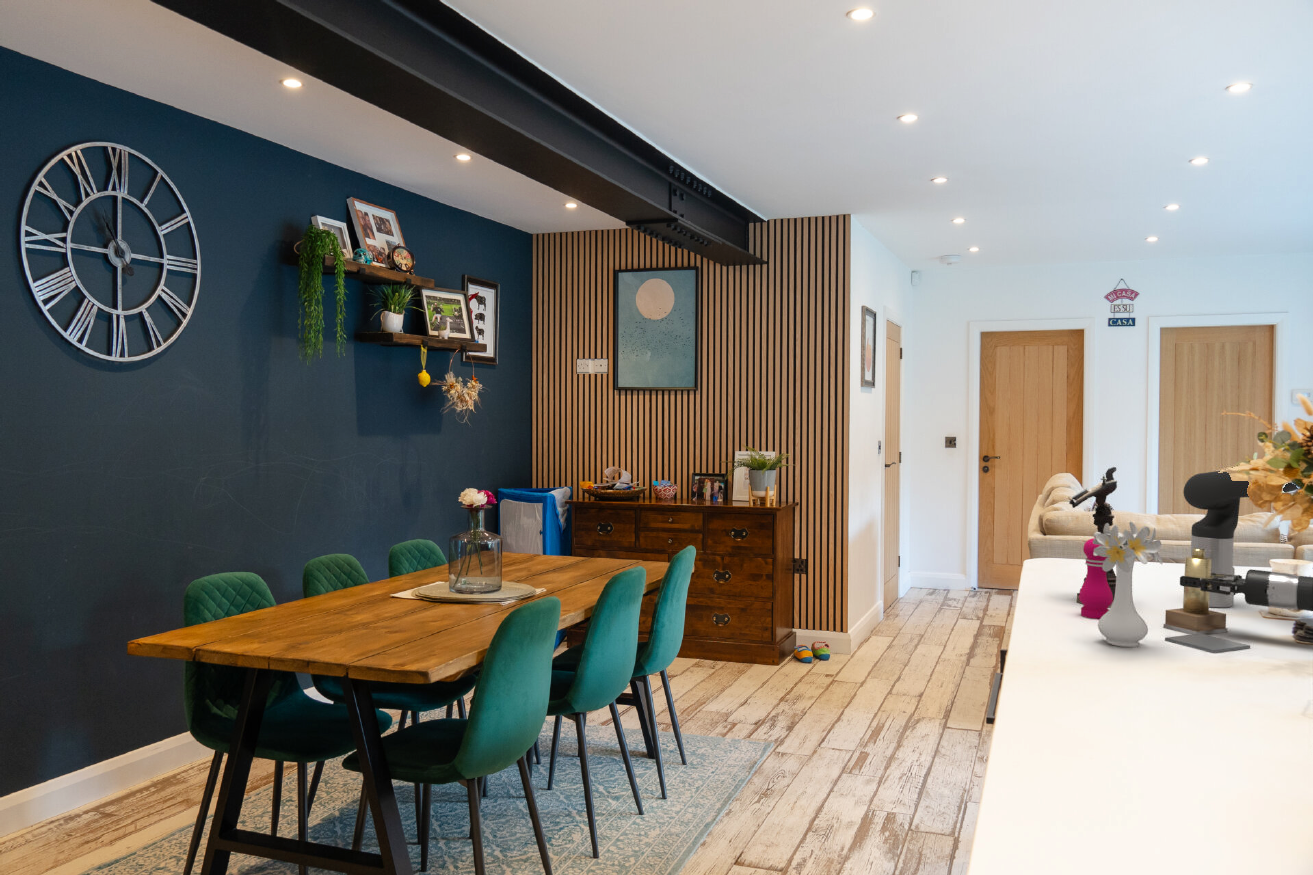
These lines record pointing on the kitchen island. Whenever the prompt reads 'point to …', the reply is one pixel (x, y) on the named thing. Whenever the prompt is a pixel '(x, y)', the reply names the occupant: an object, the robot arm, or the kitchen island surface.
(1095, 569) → the pepper mill
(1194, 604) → the gold knobbed bottle
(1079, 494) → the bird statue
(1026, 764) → the kitchen island surface
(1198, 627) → the plane block
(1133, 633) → the flower vase
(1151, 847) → the kitchen island surface
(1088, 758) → the kitchen island surface
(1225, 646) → the slate mat
